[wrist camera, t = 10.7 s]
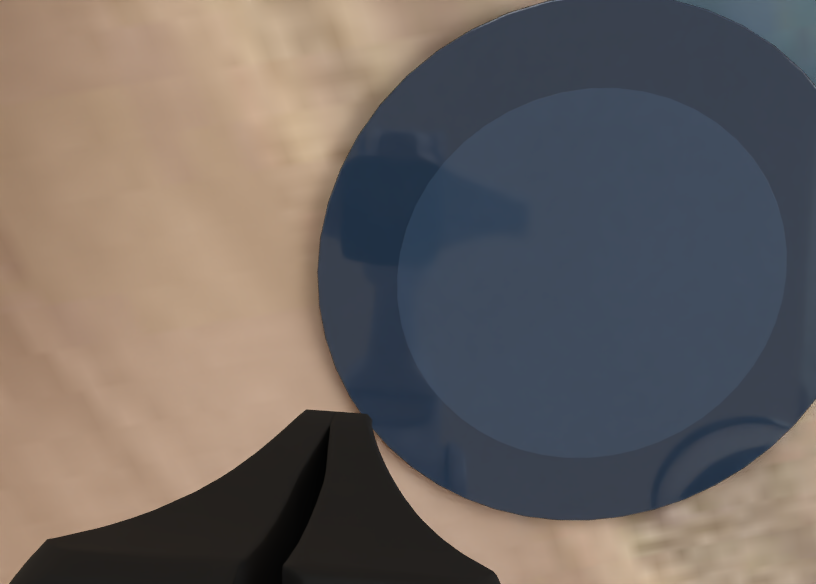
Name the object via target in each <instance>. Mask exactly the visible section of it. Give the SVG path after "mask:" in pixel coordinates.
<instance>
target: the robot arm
mask: <svg viewBox="0 0 816 584" xmlns="http://www.w3.org/2000/svg"><path fill="white" fill-rule="evenodd" d="M9 584H500V581H499V579H498V577H497V575H496V574H495V573H494V572H493V571H492V570H490V569H488V568H486V567H485V566H483V565H481V564H479V563H478V562H476V561H474V560H472V559H471V558H469V557H467V556H465V555H464V554H462V553H461V552H459V551H458V550H457V549H455V548H454V547H452V546H451V545H450V544H448V543H447V542H446V541H444V540H443V539H442V538H441V537H440V536H438V535H437V534H436V533H435V532H434V531H433V530H432V529H431V528H430V527H429V526H428V525H427V524H426V523H425V522H424V521H423V520H422V519H421V518H420V517H419V516H418V515H417V513H416V512H415V511H414V510H413V508H412V507H411V506H410V505H409V503H408V502H407V501H406V499H405V498H404V496H403V495H402V493H401V492H400V490H399V489H398V487H397V485H396V484H395V482H394V480H393V478H392V477H391V475H390V473H389V471H388V469H387V467H386V465H385V463H384V461H383V458H382V456H381V454H380V452H379V449H378V446H377V443H376V440H375V437H374V433H373V429H372V419H371V418H370V417H369V415H368V414H360V413H347V412H333V411H319V410H305V411H304V412H303V413H302V414H300V415H299V416H298V417H297V418H296V419H295V420H293V421H292V422H291V423H290V424H289V425H288V426H287V427H286V428H285V429H284V430H282V431H281V432H280V433H279V434H278V435H277V436H276V437H275V438H273V439H272V440H271V441H270V442H269V443H267V444H266V445H265V446H264V447H263V448H261V449H260V450H259V451H258V452H257V453H255V454H254V455H253V456H251V457H250V458H248V459H247V460H246V461H244V462H243V463H242V464H240V465H239V466H237V467H236V468H235V469H233V470H232V471H230V472H229V473H227V474H226V475H224V476H222V477H221V478H219V479H217V480H216V481H214V482H212V483H210V484H209V485H207V486H205V487H203V488H201V489H200V490H198V491H196V492H194V493H192V494H190V495H187V496H185V497H183V498H181V499H178V500H176V501H174V502H172V503H169V504H167V505H165V506H163V507H160V508H158V509H156V510H153V511H151V512H148V513H145V514H142V515H139V516H137V517H134V518H131V519H128V520H124V521H121V522H118V523H115V524H112V525H108V526H104V527H101V528H97V529H93V530H88V531H84V532H80V533H75V534H71V535H66V536H62V537H57V538H52V539H47V540H46V541H45V542H44V543H43V544H42V546H41V547H40V548H39V549H38V550H37V551H36V552H35V553H34V554H33V555H32V556H31V557H30V559H29V560H28V561H27V562H26V563H25V564H24V566H23V567H22V568H21V569H20V571H19V572H18V573H17V574H16V576H15V577H14V578H13V579H12V581H11V582H10V583H9Z"/></svg>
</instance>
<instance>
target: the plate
mask: <svg viewBox="0 0 816 584" xmlns="http://www.w3.org/2000/svg"><path fill="white" fill-rule="evenodd" d="M317 274H318V293H319V307H320V312H321V317H322V323H323V328H324V333H325V338H326V341H327V344H328V347H329V350H330V353H331V356H332V359H333V362H334V365H335V368H336V370H337V372H338V374H339V376H340V378H341V380H342V382H343V384H344V386H345V388H346V390H347V392H348V394H349V396H350V398H351V399H352V401H353V402H354V404H355V405H356V407H357V408H358V410H359V411H360V413H361V414H368V415H369V417H370V418H371V419H372V429H373V430H374V431H375V432H376V433H377V434H378V435H379V436H380V438H381V439H382V440H383V441H384V442H385V443H386V444H387V446H388V447H390V448H391V449H392V450H393V451H394V452H395V453H396V454H398V455H399V456H400V457H401V458H402V459H403V460H404V461H406V462H407V463H408V464H409V465H410V466H411V467H413V468H414V469H416V470H417V471H419V472H420V473H422V474H423V475H425V476H426V477H427V478H429V479H430V480H432V481H433V482H435V483H436V484H438V485H440V486H442V487H444V488H446V489H448V490H450V491H452V492H454V493H456V494H458V495H460V496H462V497H464V498H466V499H468V500H471V501H474V502H477V503H479V504H482V505H485V506H488V507H490V508H493V509H497V510H501V511H505V512H509V513H513V514H518V515H522V516H527V517H535V518H544V519H552V520H596V519H606V518H615V517H623V516H628V515H632V514H637V513H641V512H646V511H650V510H655V509H657V508H660V507H663V506H666V505H669V504H672V503H675V502H678V501H681V500H684V499H687V498H689V497H691V496H693V495H695V494H697V493H700V492H702V491H704V490H706V489H708V488H710V487H713V486H715V485H717V484H718V483H720V482H721V481H723V480H725V479H726V478H728V477H730V476H731V475H733V474H735V473H736V472H738V471H740V470H741V469H743V468H745V467H746V466H747V465H748V464H750V463H751V462H752V461H754V460H755V459H756V458H758V457H759V456H760V455H762V454H763V453H764V452H765V451H767V450H768V449H769V448H771V447H772V446H773V445H774V444H775V443H776V442H777V441H778V440H779V439H780V438H781V437H782V436H783V435H784V434H785V433H786V432H787V431H788V430H789V429H791V428H792V427H793V426H794V425H795V424H796V423H797V421H798V420H799V419H800V418H801V416H802V415H803V414H804V413H805V412H806V410H807V409H808V408H809V407H810V406H811V404H812V403H813V402H814V401H815V399H816V86H815V85H814V83H813V82H812V81H811V80H810V79H809V77H808V76H807V75H806V74H805V73H804V71H803V70H801V69H800V68H799V67H798V66H797V65H796V64H795V63H794V62H792V61H791V60H790V59H789V58H788V57H787V56H786V55H785V54H783V53H782V52H781V51H780V50H779V49H778V48H777V47H775V46H774V45H773V44H771V43H769V42H768V41H766V40H765V39H763V38H762V37H760V36H759V35H757V34H755V33H754V32H752V31H751V30H749V29H748V28H746V27H745V26H743V25H741V24H739V23H736V22H734V21H732V20H730V19H727V18H725V17H723V16H721V15H718V14H716V13H714V12H712V11H710V10H707V9H704V8H700V7H697V6H693V5H689V4H686V3H682V2H679V1H675V0H549V1H545V2H542V3H539V4H535V5H532V6H529V7H525V8H522V9H519V10H515V11H512V12H509V13H507V14H504V15H502V16H500V17H498V18H495V19H493V20H491V21H489V22H487V23H484V24H482V25H480V26H478V27H476V28H473V29H471V30H470V31H468V32H466V33H465V34H463V35H462V36H460V37H458V38H457V39H455V40H454V41H452V42H450V43H449V44H447V45H446V46H444V47H442V48H441V49H439V50H438V51H436V52H435V53H434V54H433V55H432V56H430V57H429V58H428V59H427V60H425V61H424V62H423V63H422V64H421V65H419V66H418V67H417V68H416V69H414V70H413V71H412V72H411V73H410V74H408V75H407V76H406V77H405V78H404V79H403V80H402V82H401V83H400V84H399V85H398V86H397V87H396V88H395V89H394V90H393V91H392V92H391V93H390V94H389V95H388V97H387V98H386V99H385V100H384V101H383V102H382V103H381V104H380V105H379V107H378V108H377V110H376V111H375V112H374V114H373V115H372V117H371V118H370V119H369V121H368V122H367V124H366V125H365V126H364V128H363V129H362V131H361V132H360V133H359V135H358V136H357V138H356V140H355V142H354V144H353V146H352V148H351V150H350V152H349V153H348V155H347V157H346V159H345V161H344V163H343V165H342V167H341V169H340V171H339V174H338V177H337V179H336V182H335V185H334V188H333V190H332V193H331V196H330V198H329V201H328V205H327V209H326V214H325V218H324V223H323V227H322V232H321V236H320V246H319V258H318V270H317Z"/></svg>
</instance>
